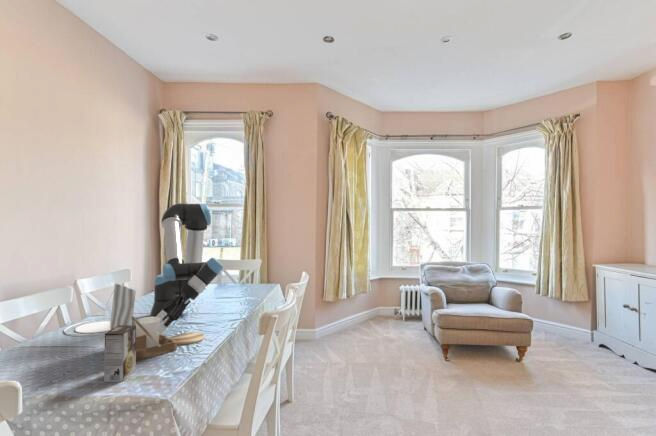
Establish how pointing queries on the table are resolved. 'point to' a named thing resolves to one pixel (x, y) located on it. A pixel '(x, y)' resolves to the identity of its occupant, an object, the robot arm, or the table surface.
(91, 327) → the plate
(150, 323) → the candle holder
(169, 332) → the table surface
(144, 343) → the cold frame
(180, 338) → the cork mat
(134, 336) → the coffee box
